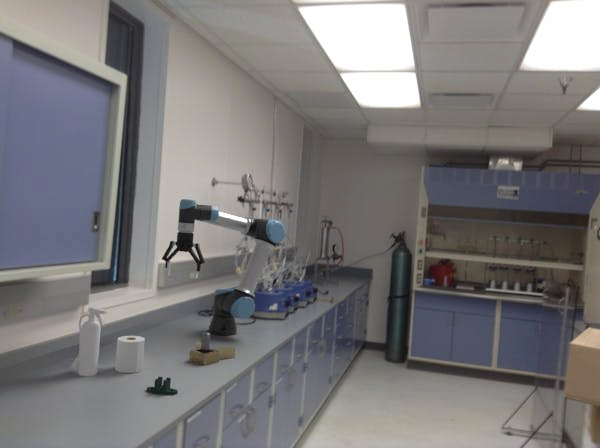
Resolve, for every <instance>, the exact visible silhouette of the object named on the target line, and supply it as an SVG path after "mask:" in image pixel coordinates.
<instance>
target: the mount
mask: <svg viewBox="0 0 600 448" xmlns="http://www.w3.org/2000/svg"><path fill="white" fill-rule="evenodd" d="M171 382H172V378H171V377H166V378H165V379H164V380H163V376H158V377H157V378H156V379H155V380H154V386H148V387H146V392H147V393H150V394H155V395H161V396H162V395H163V396H176V395H178V393H179V392H178V391H179V390H178V389H175V388H172V387H171ZM175 394H176V395H175Z"/></svg>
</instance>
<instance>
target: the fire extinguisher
mask: <svg viewBox="0 0 600 448" xmlns="http://www.w3.org/2000/svg"><path fill="white" fill-rule="evenodd" d="M107 314H109V310H106V309H103V308H100V307H96V306H89V307H88V310H87V313H84V314H82V315H80V317H79V320H78V327H79V328H78V329H79V343H78V344H79V348H78V351H79V352H78V355H77V357H75V359H74V361H73V362H72V363H71V366H70V368H71V369H72V370H74V371H78V375H79V376H81V377H92V376H96V375H97V374H98V368H99V367H98V365H99V357H100V356H99V354H100V353H99V352H100V343H101V342H100V341H101V328H102V327H103V326H105V325H106V322H105V318H104V317H103V315H107ZM85 317H88V319H87V321H84V322H83V321H82V320H83V318H85ZM96 318H97V320H98V321H97V320H96ZM82 322H83V324H82Z"/></svg>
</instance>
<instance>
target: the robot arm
mask: <svg viewBox="0 0 600 448" xmlns="http://www.w3.org/2000/svg"><path fill="white" fill-rule="evenodd" d="M196 221H199V222H203V223H207V224H210V225H213V226H216V227H217V226H218V227H221V228H224V229H225V228H226V229H229V230H232V231H237V232H240V234H241V235H244V236H247V237H250V238H253V239H254V242H255V246H254V248H253V250H252V253H251V255H250V258H249V260H248V262H247V265H246V267H245V269H244V272H243V274H242V277H241V279H240V281H239V284H238V286H235V287H234V288H219V289H218V288H217V289H216V290H214V296H213V297H214V298H213V308H212V309H213V310H212V318H211V320H210V323H209V326H208V327H207V332H209V333H210V334H212V335H217V336H219V335H220V336H232V335H233V336H234V335H236V334H237V333H238V326H237V323H236V319H237V320H238V319H239V320H246V319H248V318H249V317H251V315H253V313H254V312H255V309H256V303H255V301H254V300H255V298H256V295H255V291H256V288H257V285H258V283H259V280H260V279H261V275H262V273H263V271H264V268H265V266H266V264H267V261H268V259H269V256H270V254H271V252H272V251H273V250H275V249H276V247H277V245H278V244H279V243H281V242H283V240H284V239H285V235H286V229H285V227H284V224H283V223H282V222H281V221H279V220H276V219H265V218H253V217H249V216H245V217H241V216H237V215H234V214H231V213H226V212H224V211H220V210H219V207H217V206H216V205H208V204H198V203H197V200H196V199H186V198H183V199H180V202H179V207H178V222H177V223H178V224H177V231H178V232H177V235H176V241H174V240H171V241H169V244H168V245H169V246H168V247H167V249H166V251H165V252H164V254H163V255H162V258H161V260H163V261H164V262H165V266H164V267H165V269H166V276H167V277H169V276H171V271H172V270H171V267H172V261H171V260H172V259H173V258H174V257H175V256H176V255H177V254H178V252H184V253H189V254H190V256H191V258H192V259H193V260H194V262H195V265H194V277H193V279H195V280H196V279H198V277H199V276H198V275H199V272H200V271H201V268H202V267H201V265H202V264H205V262H206V261H205V258H204V257H203V256H204V255H203V253H202V251H201V248H200V245H201V244H200V243H199V242H198V243H194V232H195V222H196ZM175 246H176V248H175V249H174V247H175ZM193 247H194V248H195V251H194V249H193ZM172 249H174V251H172ZM171 251H172V252H171ZM195 252H196V253H195ZM170 253H171V254H170Z"/></svg>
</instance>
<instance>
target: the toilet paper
mask: <svg viewBox="0 0 600 448" xmlns="http://www.w3.org/2000/svg"><path fill="white" fill-rule="evenodd" d="M145 340H146V339H145V337H143V336H140V335H139V336H138V335H123V336H119V337H118V338H117V341H116V343H117V344H116V354H115V367H114V370H115V371H116V372H117V373H121V374H122V373H123V374H134V373H139V372H142V371H143V367H144V366H143V365H144V354H145Z"/></svg>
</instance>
